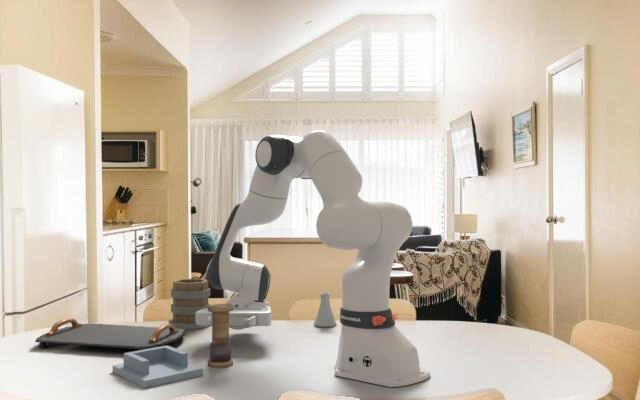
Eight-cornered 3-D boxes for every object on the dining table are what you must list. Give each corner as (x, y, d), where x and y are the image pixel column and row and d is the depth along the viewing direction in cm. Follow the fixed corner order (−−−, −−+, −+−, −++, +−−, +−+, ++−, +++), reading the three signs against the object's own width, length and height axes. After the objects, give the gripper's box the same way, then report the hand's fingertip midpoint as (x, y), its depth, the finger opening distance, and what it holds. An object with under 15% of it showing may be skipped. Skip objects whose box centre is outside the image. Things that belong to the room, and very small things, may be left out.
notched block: (202, 375, 138) (202, 355, 138) (144, 388, 129) (144, 366, 129) (167, 361, 150) (167, 342, 150) (112, 371, 141) (112, 352, 141)
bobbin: (238, 364, 147) (238, 306, 147) (216, 369, 143) (216, 309, 143) (224, 359, 152) (224, 302, 152) (203, 363, 148) (203, 305, 147)
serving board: (196, 339, 175) (196, 317, 175) (155, 360, 153) (155, 335, 153) (77, 332, 185) (77, 311, 185) (23, 350, 162) (23, 327, 162)
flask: (337, 323, 195) (337, 291, 195) (335, 328, 188) (335, 295, 188) (314, 322, 196) (314, 291, 196) (312, 327, 189) (312, 295, 189)
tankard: (198, 330, 184) (198, 280, 184) (161, 328, 188) (161, 279, 188) (228, 318, 203) (228, 273, 203) (194, 316, 207) (194, 271, 207)
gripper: (201, 301, 171) (188, 310, 157) (274, 301, 170) (268, 310, 156) (201, 323, 171) (188, 334, 157) (274, 324, 170) (268, 335, 156)
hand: (228, 322), depth 157 cm, fingers open, 8 cm apart
